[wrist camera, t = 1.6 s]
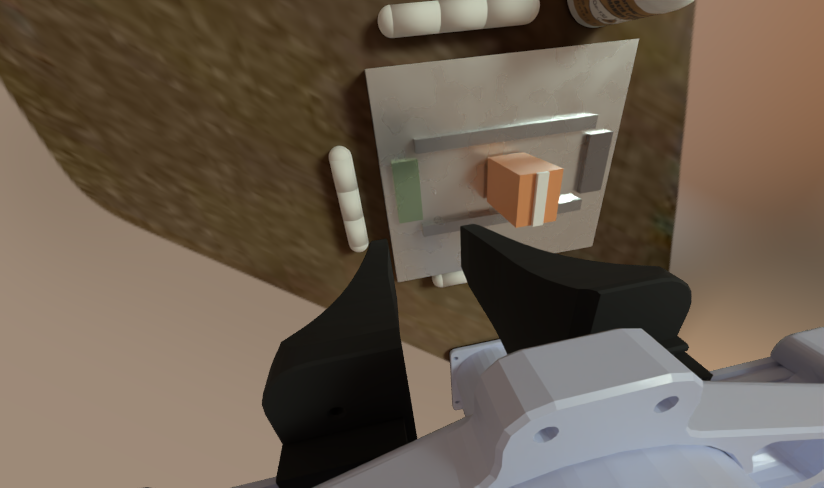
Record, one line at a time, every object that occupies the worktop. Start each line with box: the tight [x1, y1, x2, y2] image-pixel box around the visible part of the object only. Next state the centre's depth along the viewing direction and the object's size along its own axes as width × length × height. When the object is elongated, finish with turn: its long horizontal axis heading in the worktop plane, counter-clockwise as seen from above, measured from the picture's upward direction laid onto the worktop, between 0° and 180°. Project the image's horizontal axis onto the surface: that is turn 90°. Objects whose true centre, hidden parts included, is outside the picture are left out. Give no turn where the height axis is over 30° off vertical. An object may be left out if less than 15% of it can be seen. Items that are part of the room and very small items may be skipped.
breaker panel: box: [364, 39, 639, 282], centre depth 20 cm, size 14×16×2 cm
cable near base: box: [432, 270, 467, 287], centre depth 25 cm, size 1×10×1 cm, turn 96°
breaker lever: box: [487, 152, 564, 228], centre depth 18 cm, size 3×2×4 cm
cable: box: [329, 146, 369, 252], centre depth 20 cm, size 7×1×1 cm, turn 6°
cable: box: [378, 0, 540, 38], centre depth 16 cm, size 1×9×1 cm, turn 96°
